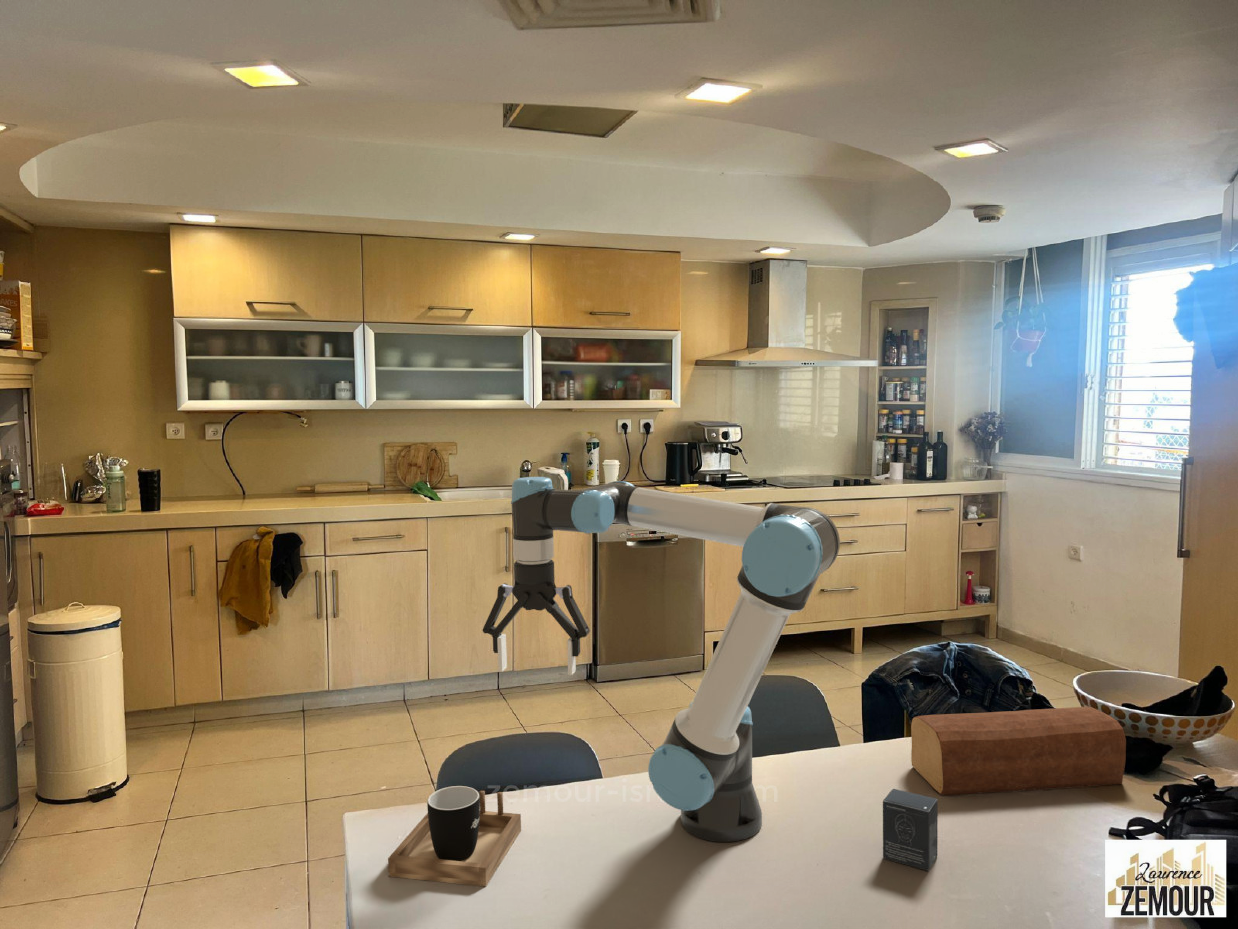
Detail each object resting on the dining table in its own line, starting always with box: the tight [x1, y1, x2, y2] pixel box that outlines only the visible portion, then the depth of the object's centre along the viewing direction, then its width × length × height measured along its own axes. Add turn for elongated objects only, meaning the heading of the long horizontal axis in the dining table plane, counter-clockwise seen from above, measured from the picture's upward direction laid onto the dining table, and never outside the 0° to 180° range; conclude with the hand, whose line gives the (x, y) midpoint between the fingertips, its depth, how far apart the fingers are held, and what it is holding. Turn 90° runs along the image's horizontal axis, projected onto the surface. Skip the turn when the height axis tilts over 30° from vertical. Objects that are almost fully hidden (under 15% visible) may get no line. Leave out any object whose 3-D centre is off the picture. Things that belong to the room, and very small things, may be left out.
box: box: [882, 788, 939, 872], centre depth 148 cm, size 8×6×11 cm
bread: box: [910, 706, 1127, 796], centre depth 178 cm, size 16×39×13 cm, turn 95°
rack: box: [387, 790, 522, 887], centre depth 153 cm, size 17×18×7 cm
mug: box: [426, 785, 480, 861], centre depth 152 cm, size 12×9×10 cm
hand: (537, 671), depth 162 cm, fingers open, 13 cm apart
